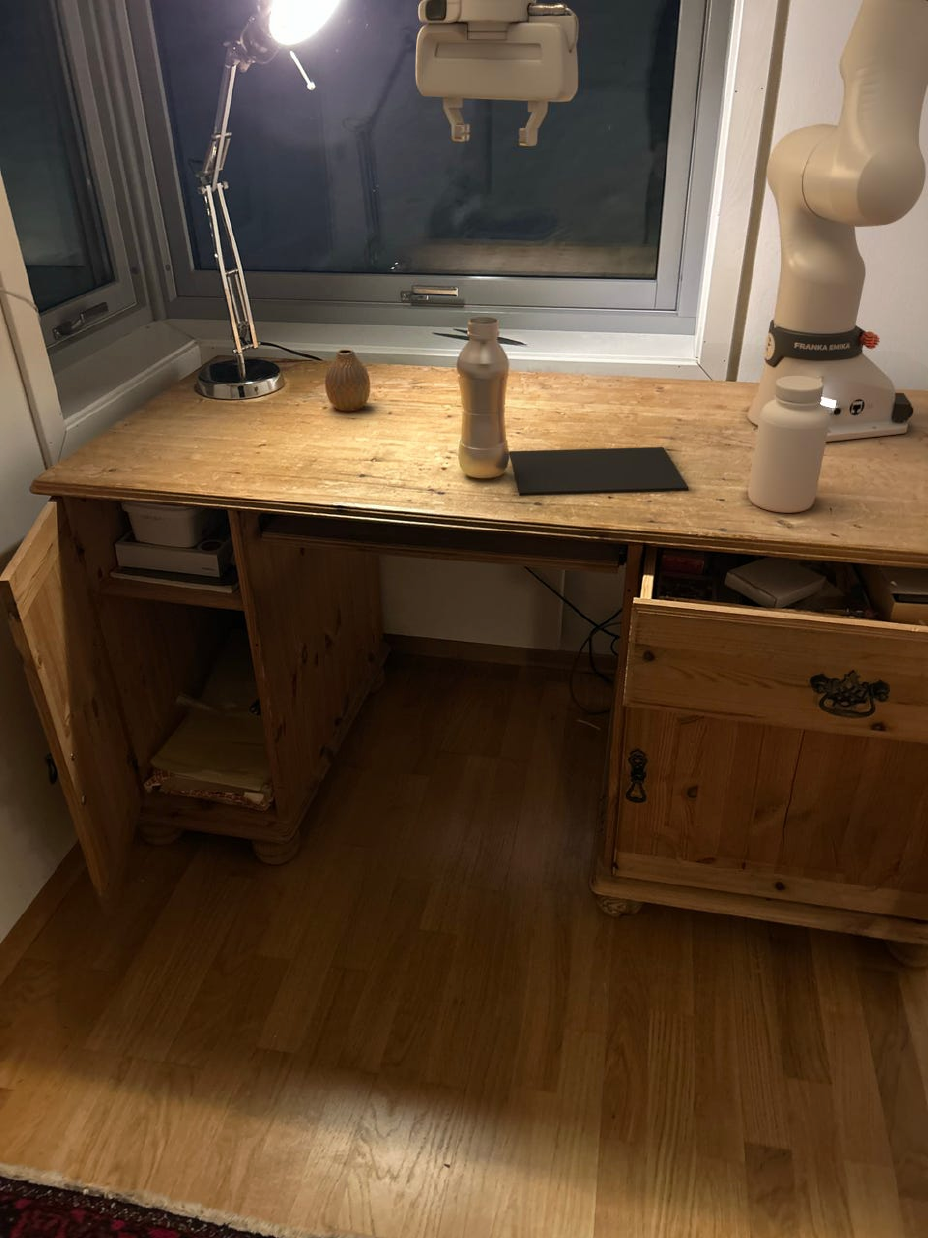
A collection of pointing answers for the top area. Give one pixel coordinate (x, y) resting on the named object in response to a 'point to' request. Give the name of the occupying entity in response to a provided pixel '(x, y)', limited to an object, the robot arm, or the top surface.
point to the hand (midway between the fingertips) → (493, 142)
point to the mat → (595, 471)
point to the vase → (347, 382)
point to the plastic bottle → (483, 400)
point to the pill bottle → (789, 446)
